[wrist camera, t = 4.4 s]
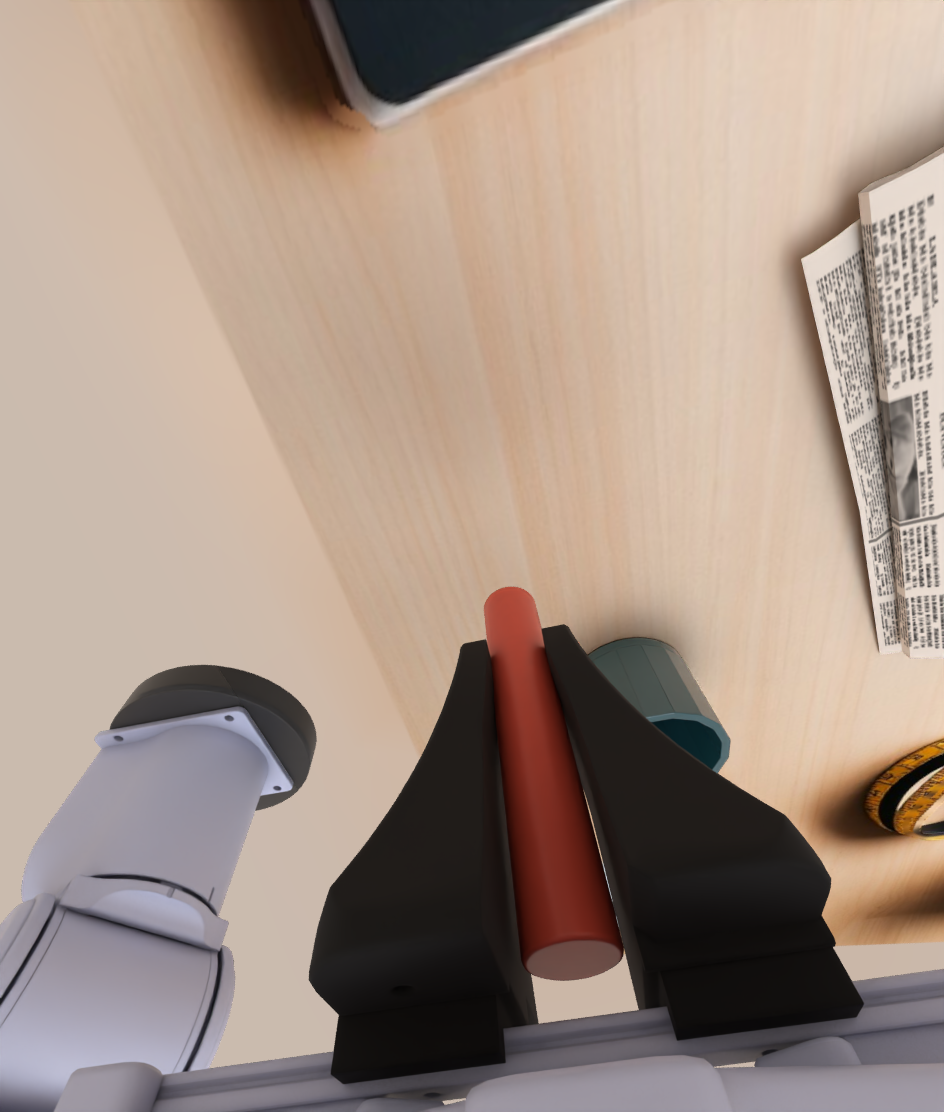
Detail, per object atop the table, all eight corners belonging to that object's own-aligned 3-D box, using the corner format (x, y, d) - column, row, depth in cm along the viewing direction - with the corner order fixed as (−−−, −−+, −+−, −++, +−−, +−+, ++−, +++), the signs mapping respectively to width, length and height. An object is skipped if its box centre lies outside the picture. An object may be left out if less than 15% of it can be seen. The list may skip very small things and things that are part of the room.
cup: (574, 729, 29) (596, 810, 25) (562, 649, 26) (586, 727, 21) (683, 710, 28) (725, 790, 24) (686, 627, 25) (735, 702, 21)
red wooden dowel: (489, 631, 16) (530, 988, 8) (479, 591, 15) (513, 947, 7) (538, 621, 16) (628, 975, 8) (530, 580, 15) (622, 931, 7)
